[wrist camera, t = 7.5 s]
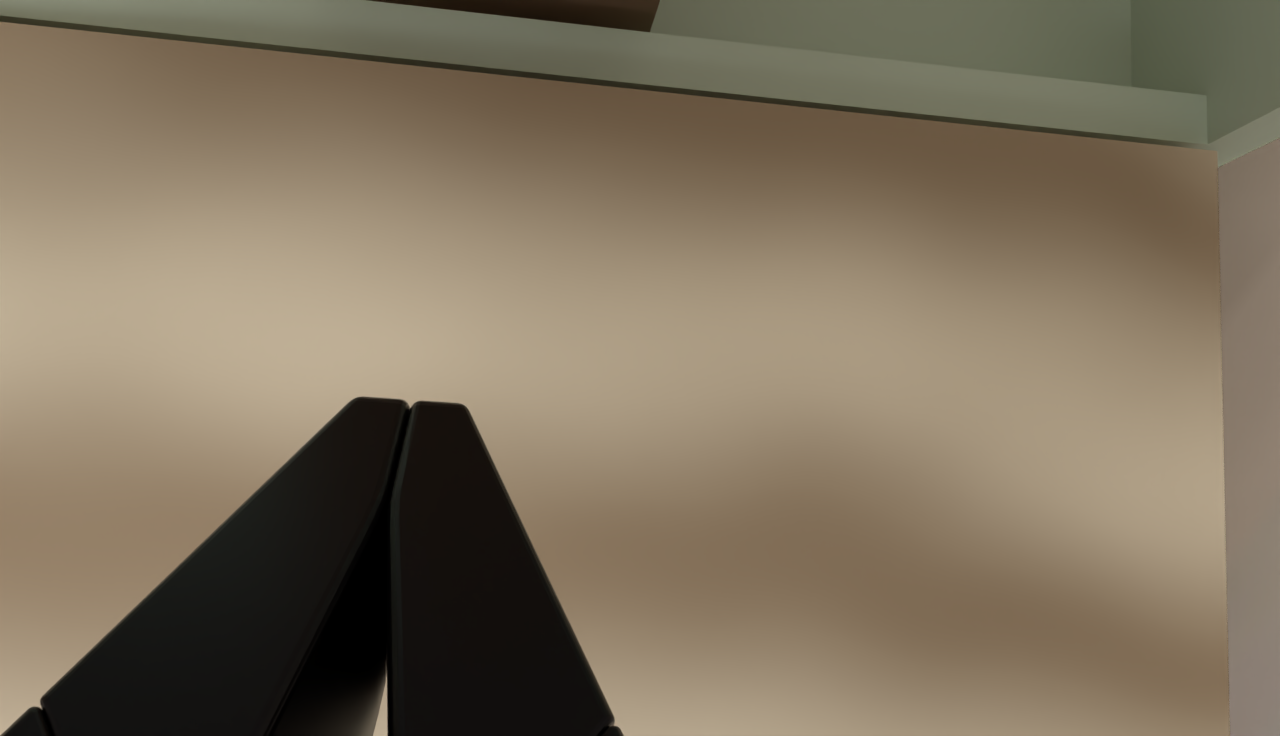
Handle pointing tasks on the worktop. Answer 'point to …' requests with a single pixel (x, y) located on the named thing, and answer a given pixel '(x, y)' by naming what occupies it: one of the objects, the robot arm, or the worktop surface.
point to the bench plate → (635, 374)
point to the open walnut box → (557, 10)
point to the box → (811, 55)
